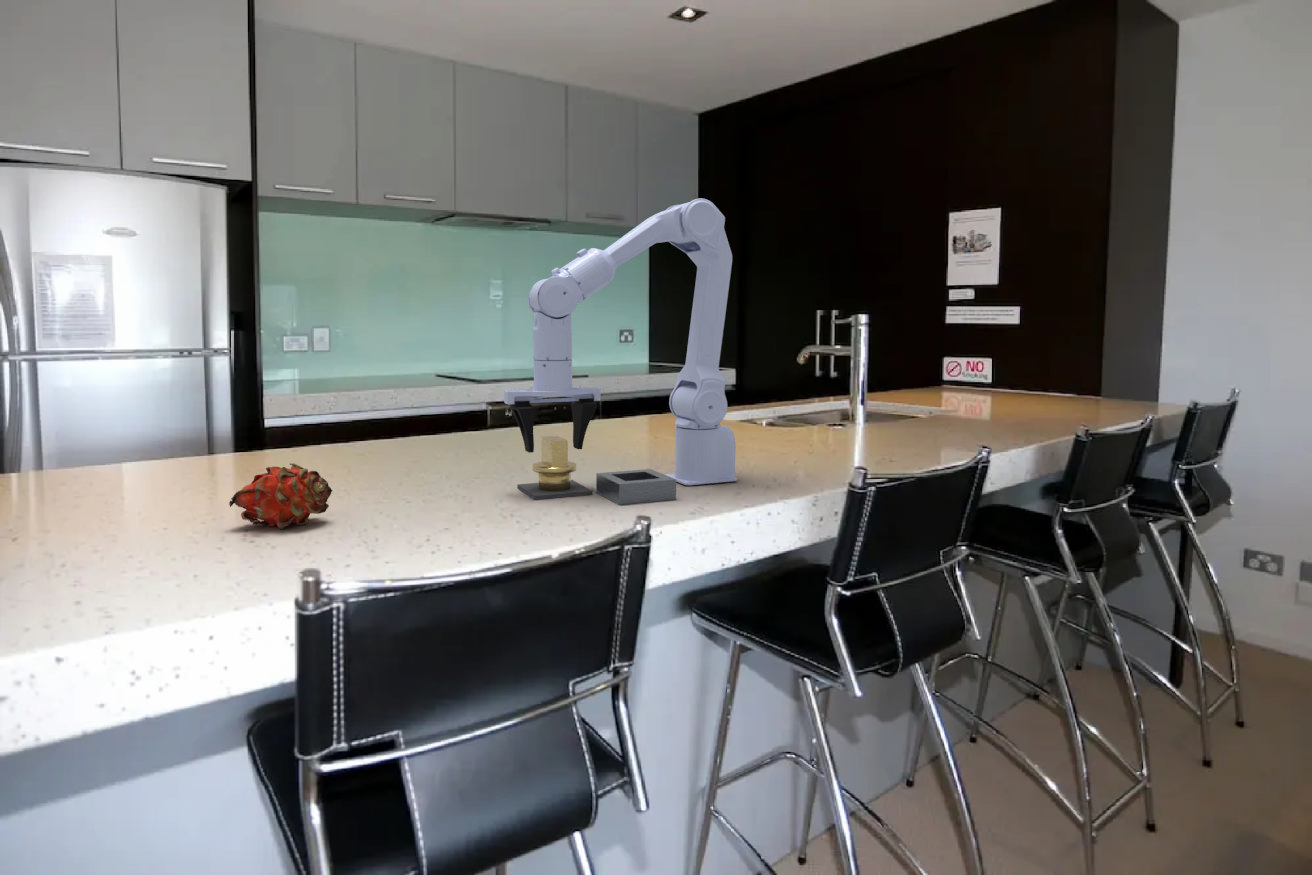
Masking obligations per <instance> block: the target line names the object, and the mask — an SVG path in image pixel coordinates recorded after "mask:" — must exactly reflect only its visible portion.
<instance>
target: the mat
mask: <svg viewBox="0 0 1312 875" xmlns="http://www.w3.org/2000/svg"><path fill="white" fill-rule="evenodd" d="M517 490H520V492H523V493H524V494H525V495H527V496H528V497H530V499H533V500H534V501H538V500H546V499H547V500H548V499H558V498H560V499H561V498H569V497H582V496H590V495H591V496H592V495H593V494H594V493H593V492H594V491H593V490H592V489H590V488H589V487H587V486H584V485H583V484H581V483H579V482H577V481H576V480H574V479H571V488H570V489H568V490H563V491H544V490H540V489H539V482H533V483H532V482H531V483H530V482H529V483H518V484H517Z"/></svg>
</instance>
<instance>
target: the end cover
mask: <svg viewBox="0 0 1312 875" xmlns="http://www.w3.org/2000/svg"><path fill="white" fill-rule="evenodd" d="M540 438H541V440H540V441H541V444H540V445H541V447H540V448H541V461H539V462H535V463H533V464H532V471H533V472H535V473H537V474H538V483H539V489H540V490H544V491H563V490H568V489H570V488H571V480H572V479H571V473H573V472H575V471H577V463H576V462H575V461H574V462H573V461H569V460H568V459H569V449H568V448H569V445H568V444H569V440H568V439H566V438H563V437H561V436H558V435H550V436H549V435H548V436H541V437H540Z"/></svg>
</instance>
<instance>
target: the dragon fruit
mask: <svg viewBox="0 0 1312 875" xmlns="http://www.w3.org/2000/svg"><path fill="white" fill-rule="evenodd" d="M289 465H290V466H291V467H290V468H288V467H285V466H283V467H282V466H281V467H280V466H267V467H265V471H267V472H265V473H259V474H256V475H254V477H253V480H252V481H251V483H250V484H247V485H244V486H243V487H242V488H241V489H240V490H238V491H236V492H235V493H234V495H233V496H232V497H231V498H230V500H229V502H228V505H229V507H230V508H232V507H233V505H234V504H235V505H236V506H237V507H239V508H242V509H244V511H242V512H241V514H240V517H241V519H242V520H244V521H248V522H250V523H252V524H253V525H262V526H266V527H273V526H277V528H278V529H280V530H283V529H285V527H287V526H290V525H291V523H292V522H293V524H295V525H298V526H302V525H307V524H309V521H310V518H309V517H310V515H311V514H317V515H319V514H324V513H325V512H326V511H327V510H328V508H329V507H330V506H329V503H327V502H328V500H329V498H330V497H331V495H332V492H333V489H332V488H331V487H330V486H329V481H327V480H326V479H325V478H323V477H322V476H321V475H320V473H319V472H318V471H317V470H310V471H309V470H308V468H304V467H302V466H300V465H299V464H297V463H295V462H293V463H289Z"/></svg>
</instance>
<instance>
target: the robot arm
mask: <svg viewBox="0 0 1312 875" xmlns="http://www.w3.org/2000/svg"><path fill="white" fill-rule="evenodd" d="M725 222H726V217H725V215H724V214H723V213H722V212H721V211H720V209H719V208H718V207H717V206H716V205H715V204H714V203H713V202H712V201H711V200H708V199H706V198H695V199H691V201H689V202H685V203H681V204H675V205H670V206H669V207H668V208H666V209H665V210H662V211H660V212H658V213H655V214H653V215H651V216H650V217H648V218H646V219H645V220H644V221H642V222H641V223H640V224H638V225H637V226H635V227H634V228H632V229H631V230H630V231H628V232H627V233H625V234H624V235H623V236H622V237H620V238H619V239H617V240H616V241H615V242H613V243H612V244H611V245H609V246H608V247H606V248H605V249H601V248H595V247H591V248H589V249H588V250H587V248H582V249H580V250H579V251H577V252H576V258H574V259H573V260H572V261H570V262H568V263H567V264H565V265H564V266H563V267H561V268H559V267H555V268H554V269H552V270H551V274H552V276H550V277H549V278H543V279H540V280H538V281H537V282H535V283H534V284H533V286H532V287H531V289H530V291H529V295H528V296H529V297H527V304H528V306H529V309H530V310H531V311H532V313H533V329H532V341H533V342H532V343H533V344H532V346H533V349H532V350H533V356H532V357H533V388H524V389H507V390H505V389H504V390H503V391H504V392H503V393H504V394H503V396H504V397H503V398H504V401H503V402H504V404H505V405H509V408H510V411H511V413H512V414H513V417H514V418H515V420H516V422H517V425H518V428H519V430H520V433H521V436H522V440H523V446H524V449H525V452H527V453H534V452H535V442H534V441H535V440H534V439H535V438H534V424H535V423H534V420H535V412H536V411H535V410H536V409H535V408H534V407H532V406H533V405H532V404H537V403H542V404H543V403H561V402H562V403H563V402H570V408H571V415H572V424H573V425H572V444H573V446H572V447H573V448H574V449H576V450H582V449H583V446H584V442H585V441H584V440H585V436H586V432H587V429H588V427H589V425H590V422H591V420H592V418H593V416H594V413H595V412H596V410H597V403H596V402H600V401H601V400H602V398H601V396H602V395H601V394H602V393H601V392H602V391H601V390H602V389H601V387H597V386H596V387H595V386H594V387H573V341H572V340H573V330H572V329H573V328H572V314H573V312H574V311H575V309H576V308H577V305H578V304H580V303H582V302H583V301H585V300H586V299H588V298H589V297H591V296H592V295H594V294H595V293H596V292H598V291H600V290H601V289H602V288H604V287H606V286H607V285H608V284H610V283H611V282H613V280H614V278H615V274H616V271H617V268H618V267H620V266H621V265H623V264H625V263H626V262H628V261H629V260H631V259H633V258H634V257H636V256H637V255H639V254H641V253H643V252H644V251H645V250H647V249H649V248H650V247H652V246H653V245H655V244H658V243H665V242H667V243H670V244H671V245H672V246H674V247H676V248H677V249H679V250H680V251H682V252H683V253H685V254H686V255H687V256H688V257H689V259H690V260H691V261H692V262H693V263H694V264H695V266H696V277H695V286H694V292H693V300H692V308H691V314H690V316H691V317H690V324H689V332H688V333H689V334H688V341H687V349H686V350H687V351H686V357H685V364H684V366H683V367H682V369H681V370H680V372H679V373H678V375H677V378H676V384H675V385H674V388H673V390H672V391H671V393H670V395H669V402H668V405H669V409H670V411H671V413H672V414H673V416H674V417H675V422H674V426H675V430H674V431H675V432H674V433H675V434H674V437H675V439H674V473H666V474H665V475H666V476H669V477H671V478H674V479H676V483H678V484H682V485H685V486H696V485H698V486H699V485H706V484H707V485H709V484H719V483H729V482H737V481H738V478H737V477H736V450H737V448H736V447H737V446H736V445H737V444H736V436H735V434H734V431H733V429H732V428H731V427H730V426H729V425H725V424H722V425H721V422H722V421H723V420H724V418H725V416H726V415H727V412H728V400H727V396H726V392H725V386H726V380H725V379H724V377H723V374H722V373H721V371H720V368H719V367H720V360H721V352H722V345H723V337H724V328H725V320H726V312H727V304H728V298H729V289H730V281H731V274H732V265H733V253H732V250H731V247H730V243H729V241H728V237H727V234H726V230H725ZM544 397H547V398H544ZM548 397H552V398H548ZM557 397H559V398H557Z"/></svg>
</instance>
